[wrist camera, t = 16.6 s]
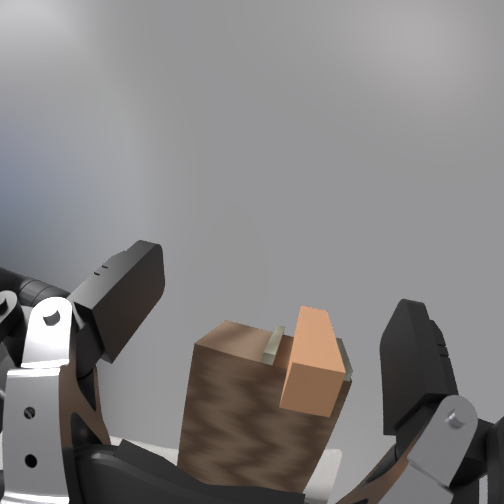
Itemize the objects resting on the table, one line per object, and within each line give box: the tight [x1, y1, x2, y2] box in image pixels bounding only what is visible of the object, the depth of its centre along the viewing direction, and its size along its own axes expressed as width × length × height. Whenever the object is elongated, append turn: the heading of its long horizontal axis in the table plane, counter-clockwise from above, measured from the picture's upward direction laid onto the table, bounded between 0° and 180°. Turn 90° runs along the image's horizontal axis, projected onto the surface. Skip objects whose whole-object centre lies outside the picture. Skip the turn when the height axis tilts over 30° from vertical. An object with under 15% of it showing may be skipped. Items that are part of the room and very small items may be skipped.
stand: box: [177, 320, 353, 494], centre depth 34 cm, size 17×12×33 cm
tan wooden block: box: [279, 306, 346, 417], centre depth 31 cm, size 4×24×4 cm, turn 169°
